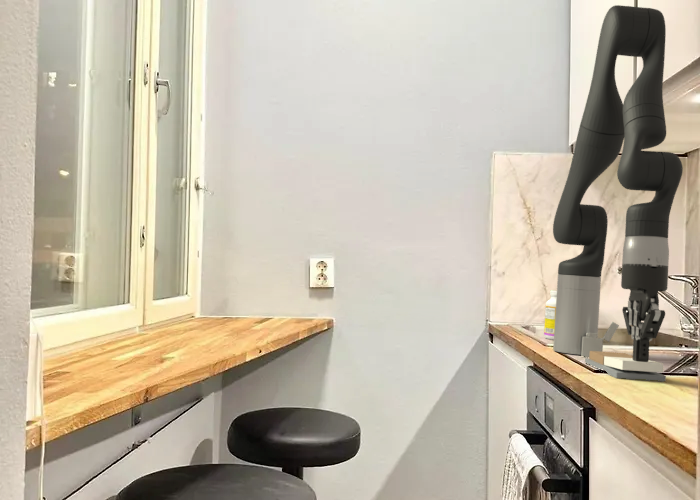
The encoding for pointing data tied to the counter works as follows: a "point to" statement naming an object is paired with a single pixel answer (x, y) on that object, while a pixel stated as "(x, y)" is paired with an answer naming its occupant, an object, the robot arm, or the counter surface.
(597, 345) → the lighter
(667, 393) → the counter surface
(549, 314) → the supplement bottle
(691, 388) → the counter surface
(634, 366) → the board
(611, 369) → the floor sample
